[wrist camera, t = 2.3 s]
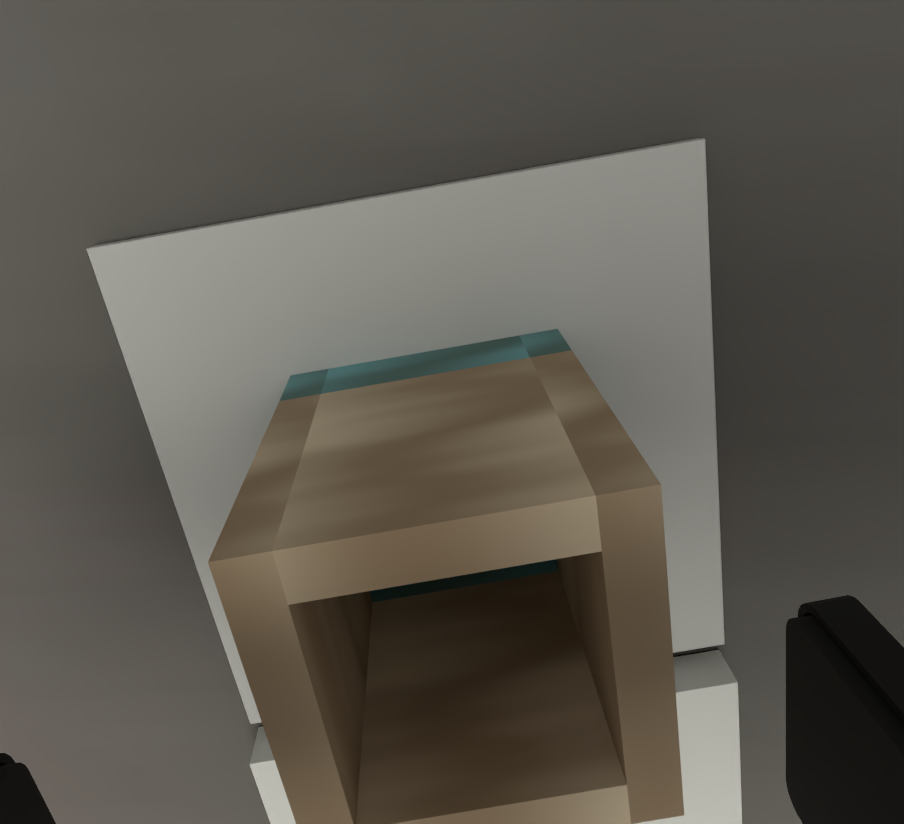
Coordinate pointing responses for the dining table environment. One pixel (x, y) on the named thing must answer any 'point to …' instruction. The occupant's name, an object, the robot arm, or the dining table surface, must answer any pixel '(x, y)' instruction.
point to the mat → (438, 327)
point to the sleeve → (456, 595)
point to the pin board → (700, 739)
